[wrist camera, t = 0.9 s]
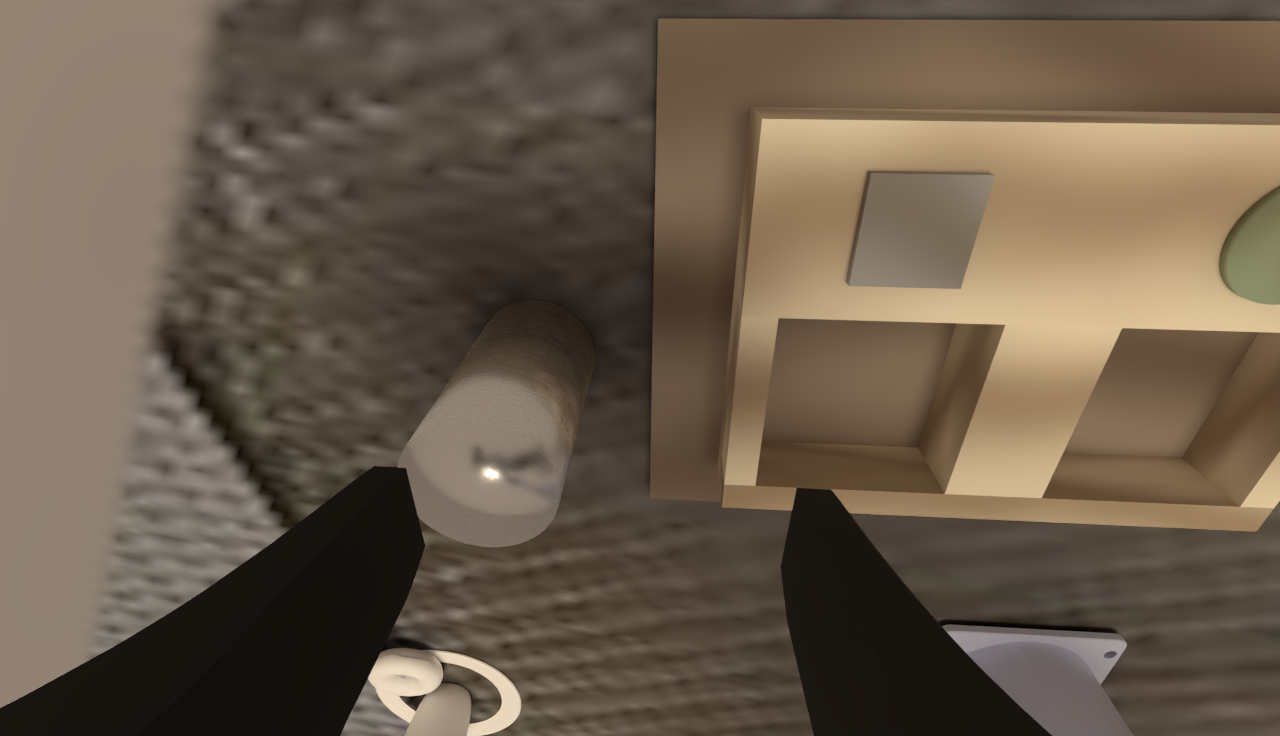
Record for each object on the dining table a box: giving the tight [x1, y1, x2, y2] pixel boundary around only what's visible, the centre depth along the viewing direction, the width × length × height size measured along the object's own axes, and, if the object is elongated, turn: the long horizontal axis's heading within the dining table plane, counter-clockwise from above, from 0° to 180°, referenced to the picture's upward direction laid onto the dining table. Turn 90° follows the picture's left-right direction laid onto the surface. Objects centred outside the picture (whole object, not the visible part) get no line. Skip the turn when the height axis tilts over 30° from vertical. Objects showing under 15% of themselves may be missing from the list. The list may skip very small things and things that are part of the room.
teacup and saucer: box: [368, 648, 521, 736], centre depth 30 cm, size 9×8×4 cm
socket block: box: [650, 19, 1280, 531], centre depth 17 cm, size 16×22×3 cm
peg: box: [397, 300, 595, 547], centre depth 17 cm, size 4×4×7 cm
